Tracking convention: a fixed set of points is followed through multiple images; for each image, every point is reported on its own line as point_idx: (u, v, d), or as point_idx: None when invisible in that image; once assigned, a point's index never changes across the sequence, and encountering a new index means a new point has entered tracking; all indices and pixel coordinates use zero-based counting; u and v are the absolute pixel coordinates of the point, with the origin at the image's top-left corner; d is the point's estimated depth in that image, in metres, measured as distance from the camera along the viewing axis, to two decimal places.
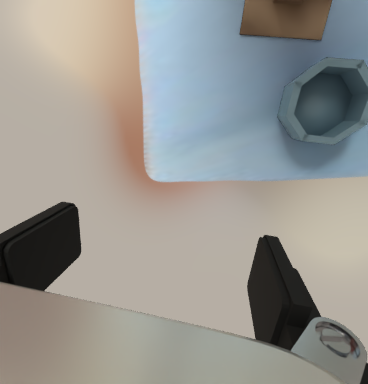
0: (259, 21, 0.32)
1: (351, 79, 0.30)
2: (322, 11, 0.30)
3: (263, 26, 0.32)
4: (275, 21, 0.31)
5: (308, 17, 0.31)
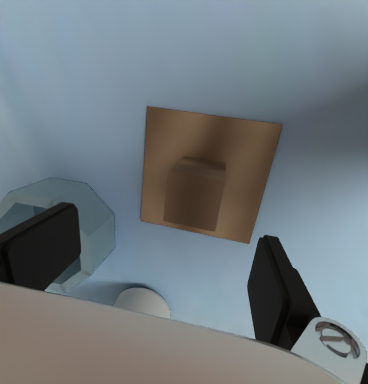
0: (162, 137, 0.20)
1: None
2: None
3: (155, 144, 0.20)
4: (161, 161, 0.21)
5: (164, 204, 0.22)
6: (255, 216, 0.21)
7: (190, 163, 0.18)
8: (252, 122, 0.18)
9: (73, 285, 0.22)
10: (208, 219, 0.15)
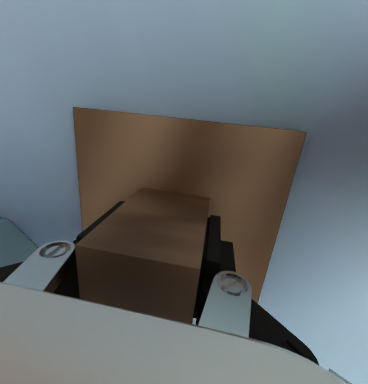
0: (103, 158, 0.12)
1: None
2: None
3: (94, 169, 0.12)
4: (107, 196, 0.13)
5: None
6: (262, 279, 0.13)
7: (143, 208, 0.10)
8: (253, 130, 0.10)
9: None
10: None
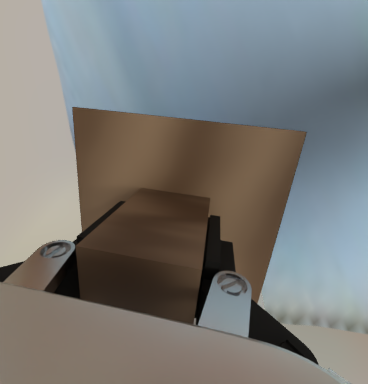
0: (103, 159, 0.12)
1: None
2: None
3: (93, 169, 0.12)
4: (106, 197, 0.13)
5: None
6: (262, 279, 0.13)
7: (143, 208, 0.10)
8: (253, 130, 0.10)
9: None
10: None
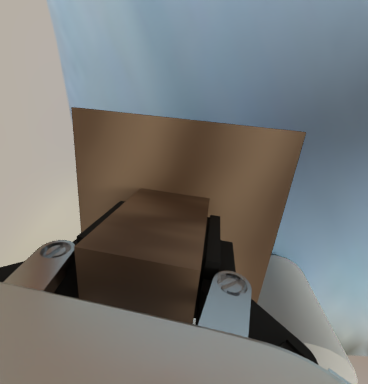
0: (102, 159, 0.12)
1: None
2: None
3: (93, 170, 0.12)
4: (106, 197, 0.13)
5: None
6: (261, 279, 0.13)
7: (142, 209, 0.10)
8: (252, 130, 0.10)
9: None
10: None
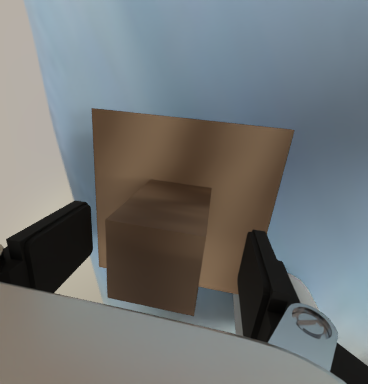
0: (118, 153, 0.14)
1: None
2: None
3: (109, 163, 0.14)
4: (120, 187, 0.14)
5: None
6: None
7: (154, 195, 0.11)
8: (248, 128, 0.12)
9: None
10: (181, 297, 0.09)
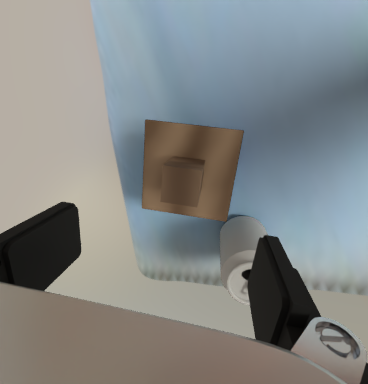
0: (157, 142, 0.27)
1: None
2: (165, 206, 0.29)
3: (152, 148, 0.27)
4: (157, 160, 0.27)
5: (160, 194, 0.29)
6: (229, 199, 0.28)
7: (178, 160, 0.24)
8: (222, 129, 0.25)
9: None
10: (192, 198, 0.22)
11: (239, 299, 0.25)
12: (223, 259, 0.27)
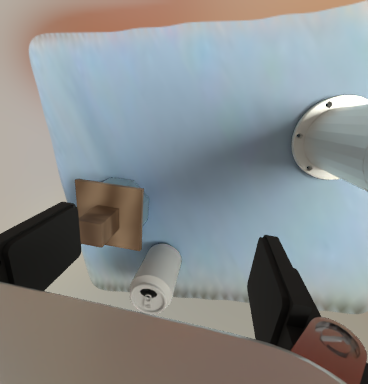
0: (85, 195, 0.37)
1: None
2: None
3: (82, 198, 0.37)
4: (86, 207, 0.38)
5: None
6: (139, 236, 0.38)
7: (94, 212, 0.34)
8: (128, 188, 0.35)
9: None
10: (97, 241, 0.32)
11: (140, 309, 0.35)
12: None
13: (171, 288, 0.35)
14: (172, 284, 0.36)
